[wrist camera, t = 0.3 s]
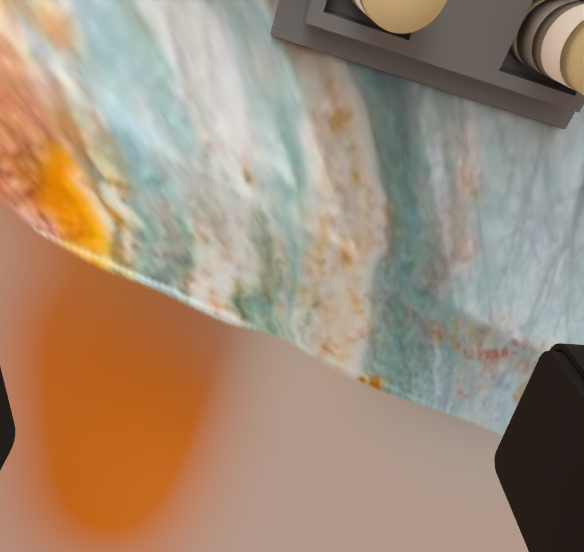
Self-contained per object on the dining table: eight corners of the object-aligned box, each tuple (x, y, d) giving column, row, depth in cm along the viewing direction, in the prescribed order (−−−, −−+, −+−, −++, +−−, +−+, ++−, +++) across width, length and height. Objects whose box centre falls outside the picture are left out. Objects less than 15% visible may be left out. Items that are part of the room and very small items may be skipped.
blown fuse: (527, -15, 32) (605, 0, 24) (585, 6, 32) (679, 27, 25) (494, 54, 34) (557, 88, 26) (550, 73, 34) (627, 111, 27)
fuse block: (320, -161, 29) (326, -174, 25) (647, -33, 32) (691, -29, 29) (270, 32, 34) (270, 43, 30) (558, 124, 37) (586, 143, 34)
